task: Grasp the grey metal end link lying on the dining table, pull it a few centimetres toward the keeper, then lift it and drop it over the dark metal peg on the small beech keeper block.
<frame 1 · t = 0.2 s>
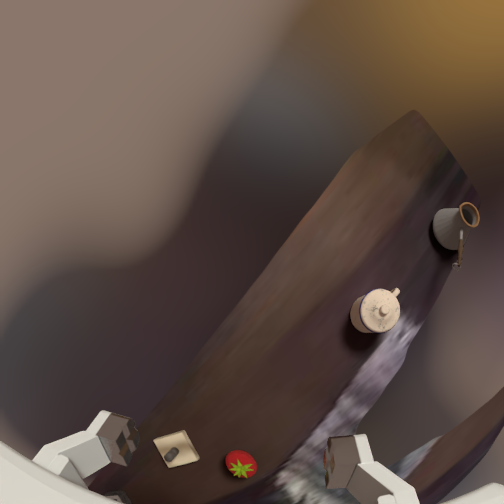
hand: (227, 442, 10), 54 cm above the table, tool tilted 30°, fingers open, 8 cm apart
strawberry: (243, 454, 56), on the table
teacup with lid: (371, 310, 63), on the table
keeper block: (177, 448, 56), on the table
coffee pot: (439, 247, 66), on the table
end link: (120, 499, 52), on the table
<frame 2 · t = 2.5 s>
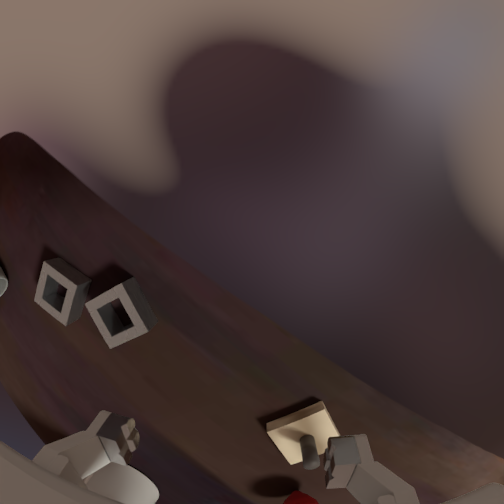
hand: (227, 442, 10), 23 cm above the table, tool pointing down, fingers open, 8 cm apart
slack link: (69, 287, 33), on the table
strawberry: (296, 490, 37), on the table
keeper block: (305, 430, 35), on the table
end link: (127, 308, 33), on the table
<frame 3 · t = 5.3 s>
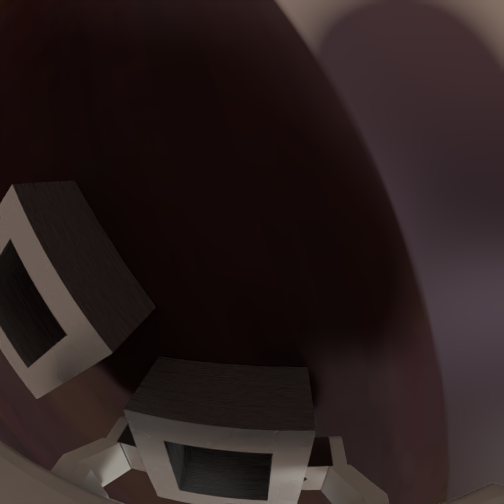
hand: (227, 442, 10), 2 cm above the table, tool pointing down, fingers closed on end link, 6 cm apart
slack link: (70, 281, 11), on the table
end link: (232, 416, 12), on the table, touching gripper
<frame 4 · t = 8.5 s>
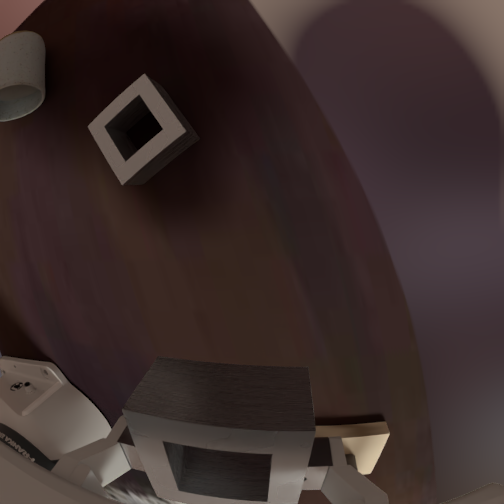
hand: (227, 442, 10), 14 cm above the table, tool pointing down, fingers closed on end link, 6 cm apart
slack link: (151, 134, 22), on the table
keeper block: (344, 446, 27), on the table
ceramic mug: (29, 89, 22), on the table
end link: (232, 417, 12), point 13 cm above the table, touching gripper
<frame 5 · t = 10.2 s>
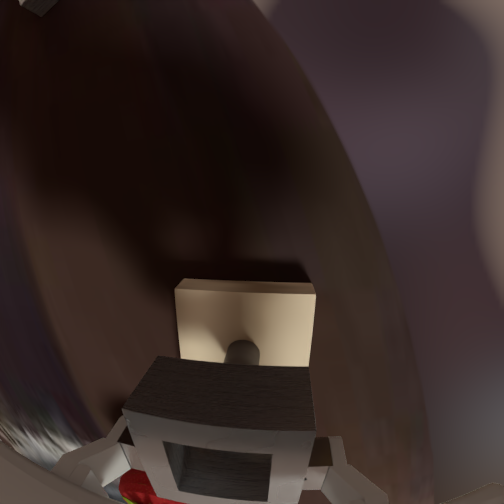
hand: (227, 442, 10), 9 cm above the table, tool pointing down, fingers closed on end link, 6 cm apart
strawberry: (174, 450, 23), on the table
keeper block: (246, 338, 19), on the table
end link: (232, 416, 11), point 8 cm above the table, touching gripper
when the fingers open (5 cm above the table, at t = 11.7 s): end link drops 1 cm, resting on keeper block.
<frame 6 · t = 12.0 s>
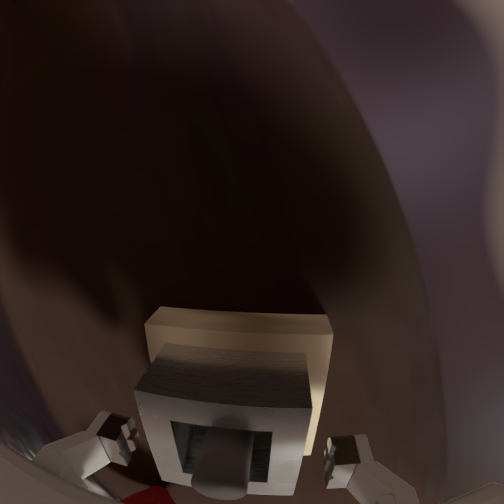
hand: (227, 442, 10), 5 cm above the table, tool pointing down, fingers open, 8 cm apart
strawberry: (162, 485, 18), on the table
keeper block: (241, 379, 14), on the table
end link: (234, 401, 13), point 2 cm above the table, touching keeper block
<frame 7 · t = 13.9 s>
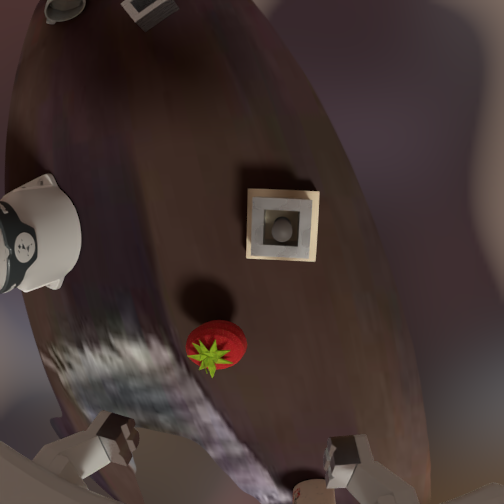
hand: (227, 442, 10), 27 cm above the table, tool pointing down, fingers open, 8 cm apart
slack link: (153, 10, 30), on the table
strawberry: (224, 325, 39), on the table
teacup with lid: (313, 489, 46), on the table
keeper block: (282, 223, 35), on the table
ceramic mug: (72, 8, 31), on the table
end link: (281, 224, 33), point 2 cm above the table, touching keeper block
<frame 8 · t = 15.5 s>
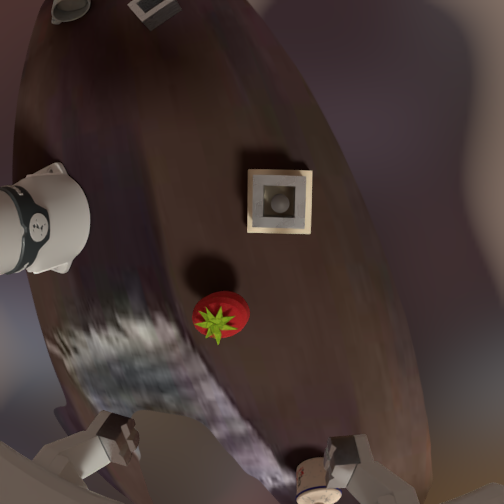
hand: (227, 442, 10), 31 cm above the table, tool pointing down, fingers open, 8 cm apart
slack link: (158, 11, 33), on the table
strawberry: (227, 299, 42), on the table
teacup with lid: (316, 469, 50), on the table
keeper block: (279, 200, 38), on the table
ceramic mug: (76, 9, 33), on the table
end link: (278, 200, 36), point 2 cm above the table, touching keeper block
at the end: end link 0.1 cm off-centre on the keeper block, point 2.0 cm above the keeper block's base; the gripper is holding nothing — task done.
